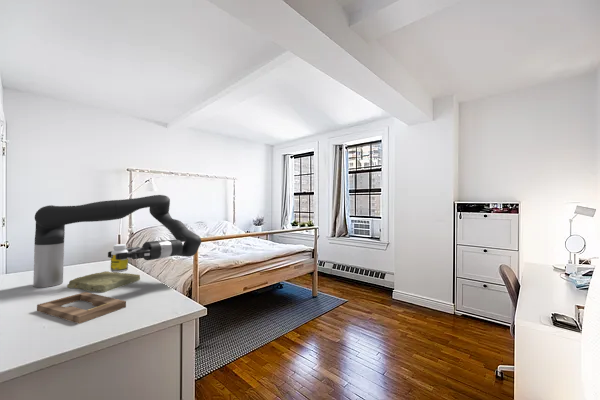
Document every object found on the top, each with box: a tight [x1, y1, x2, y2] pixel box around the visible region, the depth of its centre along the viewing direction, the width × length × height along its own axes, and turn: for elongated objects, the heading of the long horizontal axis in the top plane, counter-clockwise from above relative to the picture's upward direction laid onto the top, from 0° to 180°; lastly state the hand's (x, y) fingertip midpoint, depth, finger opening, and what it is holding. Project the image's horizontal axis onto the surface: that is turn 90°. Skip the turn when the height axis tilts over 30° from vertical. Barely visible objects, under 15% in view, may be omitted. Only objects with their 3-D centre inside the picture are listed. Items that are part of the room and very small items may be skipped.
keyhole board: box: [36, 291, 127, 325], centre depth 90 cm, size 22×14×2 cm, turn 68°
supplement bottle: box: [110, 243, 129, 273], centre depth 102 cm, size 5×5×10 cm
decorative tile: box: [66, 271, 141, 293], centre depth 117 cm, size 19×20×4 cm
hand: (112, 255), depth 100 cm, fingers closed on supplement bottle, 5 cm apart
